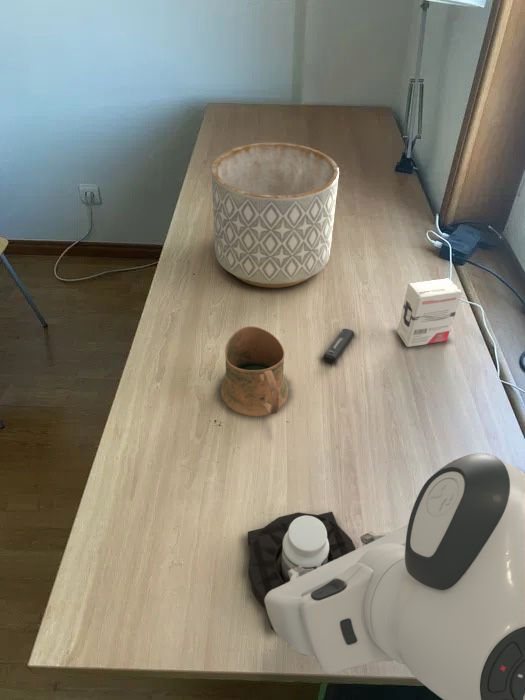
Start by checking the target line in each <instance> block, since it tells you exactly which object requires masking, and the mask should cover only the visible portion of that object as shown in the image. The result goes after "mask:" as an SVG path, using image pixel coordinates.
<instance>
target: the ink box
mask: <svg viewBox="0 0 525 700" xmlns="http://www.w3.org/2000/svg"><path fill="white" fill-rule="evenodd" d="M462 294H463V292H462V290H461V289H460V288H459V287H458V286H457V285H456V284H455V283H454V282H453V280H451V278H449V277H446V278H440V279H432V280H426V281H419V282H418V281H417V282H411V283H408V284H407V288H406V293H405V296H404V301H403V305H402V309H401V314H400V318H399V323H398V326H397V331H396V332H397V334H398V336H399V338H400V339H401V341H402V342H403V343H404V345H405V347H407V348H410V347H416V346H417V347H418V346H424V345H428V344H435V343H442V342H446V341H447V340H448V339H449V338H448V337H449V335H450V331H451V328H452V325H453V322H454V319H455V316H456V313H457V310H458V306H459V303H460V301H461V297H462Z"/></svg>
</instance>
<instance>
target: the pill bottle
mask: <svg viewBox="0 0 525 700" xmlns="http://www.w3.org/2000/svg"><path fill="white" fill-rule="evenodd" d="M328 553H329V542H328V539H327V531H326V528H325V526H324V524H323V523H322V522H321V521H320V520H319V519H317V518H315V517H312V516H301V517H298V518H296V519H295V520H293V522H292V523H291V524H290V526H289V529H288V531H287V533H286V534H285V536H284V539H283V543H282V553H281V559H280V561H281V562H280V571H281V575H282V579H283V581H284V582H285V583H287V582H289V581H290V577H289V574H288V571H289V570H291V569H293V568H295V567H297V566H301V567H303V568H304V569H305V572H306V573H308V572H310V571H312V570H314V569H317V568H319V567H321V566H323V565H325V564H327V563H328Z"/></svg>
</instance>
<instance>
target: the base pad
mask: <svg viewBox="0 0 525 700" xmlns="http://www.w3.org/2000/svg"><path fill="white" fill-rule="evenodd" d="M301 516H312V517H315V518H317V519H319V520H320V521H321V522H322V523H323V524H324V526H325V528H326V531H327V539H328V542H329V553H328V559H327V561H328V563H329V562H331V561H333V560H335V559H337V558H339V557H342V556H344V555H346V554H348V553H350V552H352V551H354V550H356V549H357V548H356V547H355V544H354V541H353V540H352V538H351V537H350V536H349V535H348V534H347V533H346V532H345V531H344V530H343V529H342V528H341V527H340V526H339V524H338V522H337V519H336V517H335V515H334V513H333V511H328V512H324V513H320V514H316V513H315V514H313V513H307V512H294V513H289V514H285V515H281V516H278V517H277V518H275V519H273V520H272V521H271V522H269V523H268V524H266V525H265V526H264V527H262V528H256V529H252V530H249V531H247V542H248V546H249V550H250V554H249V560H248V577H249V581H250V585H251V588H252V592H253V595H254V597H255V598H256V599H257V600H258V602H259V603H260V605H261V606H262V607H263V609H264V610H265V611H266V612H267V609H266V606H265V601H264V599H265V597H266V595H267V593H268V592H269V591H271V590H272V589H275V588H277V587H279V586H281V585H283V584H285V583H286V581H285V580H284V578H283V577H281V576H280V575H279V571H278V568H277V565H276V564H277V561H278V560H279V557H280V556H281V555H282V543H283V539H284V536H285V534H286V533H287V531H288V529H289V526H290V524H291V523H292V522H293V520H295V519H296V518H298V517H301ZM267 616H268V615H267ZM268 621H269V624H270V627H271V628H270V629H271V630H274V629H273V626H272V624H271V621H270V619H269V616H268Z"/></svg>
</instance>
